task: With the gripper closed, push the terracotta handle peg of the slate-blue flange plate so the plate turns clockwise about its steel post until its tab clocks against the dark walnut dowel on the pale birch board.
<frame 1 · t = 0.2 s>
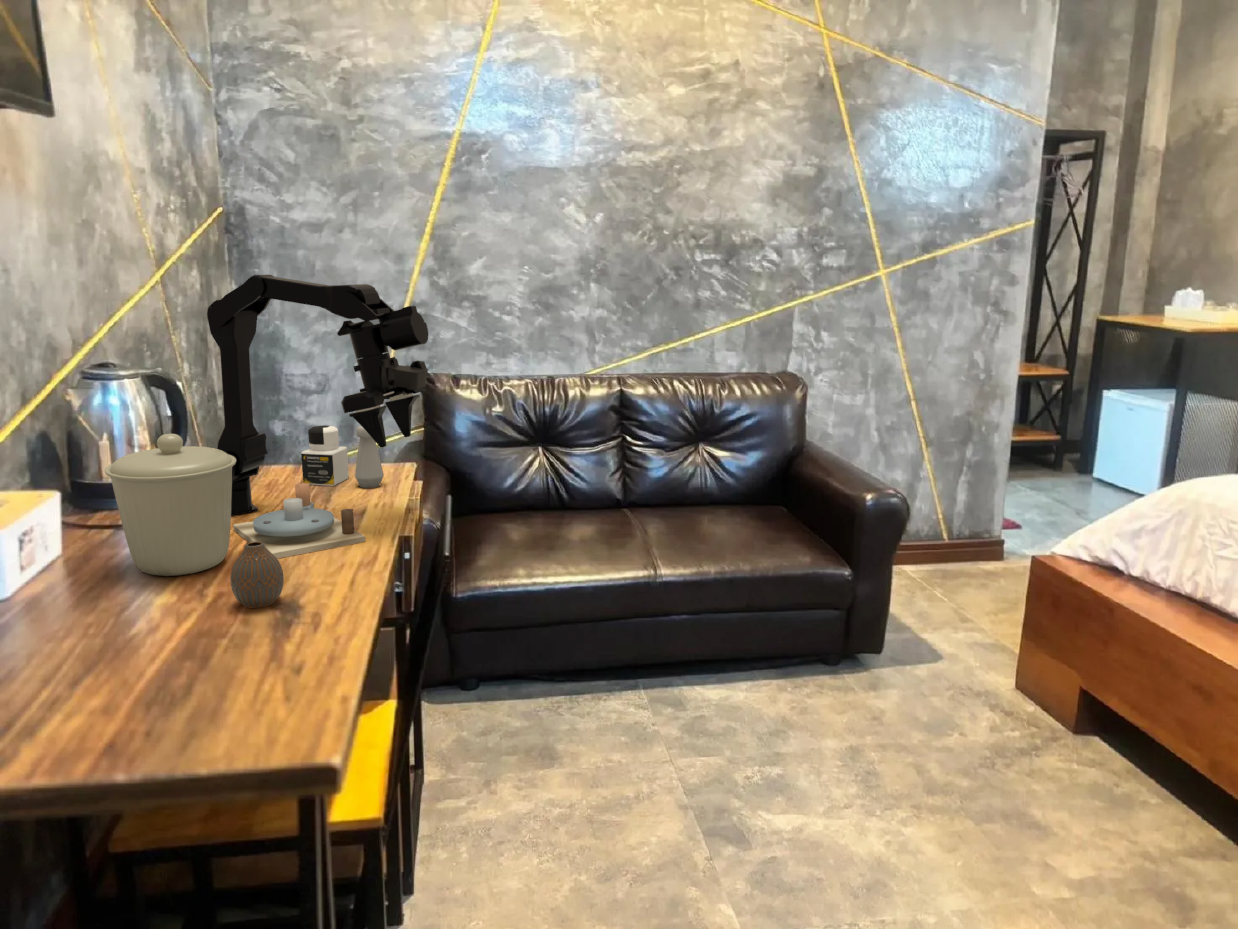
hand: (395, 441, 162), 15 cm above the table, tool pointing down, fingers open, 9 cm apart
salt shaker: (370, 486, 192), on the table
medicine bottle: (326, 482, 195), on the table
canister: (183, 566, 142), on the table
board: (298, 535, 158), on the table
flange plate: (295, 508, 156), point 5 cm above the table, hinge at 75.0°
vase: (259, 604, 128), on the table
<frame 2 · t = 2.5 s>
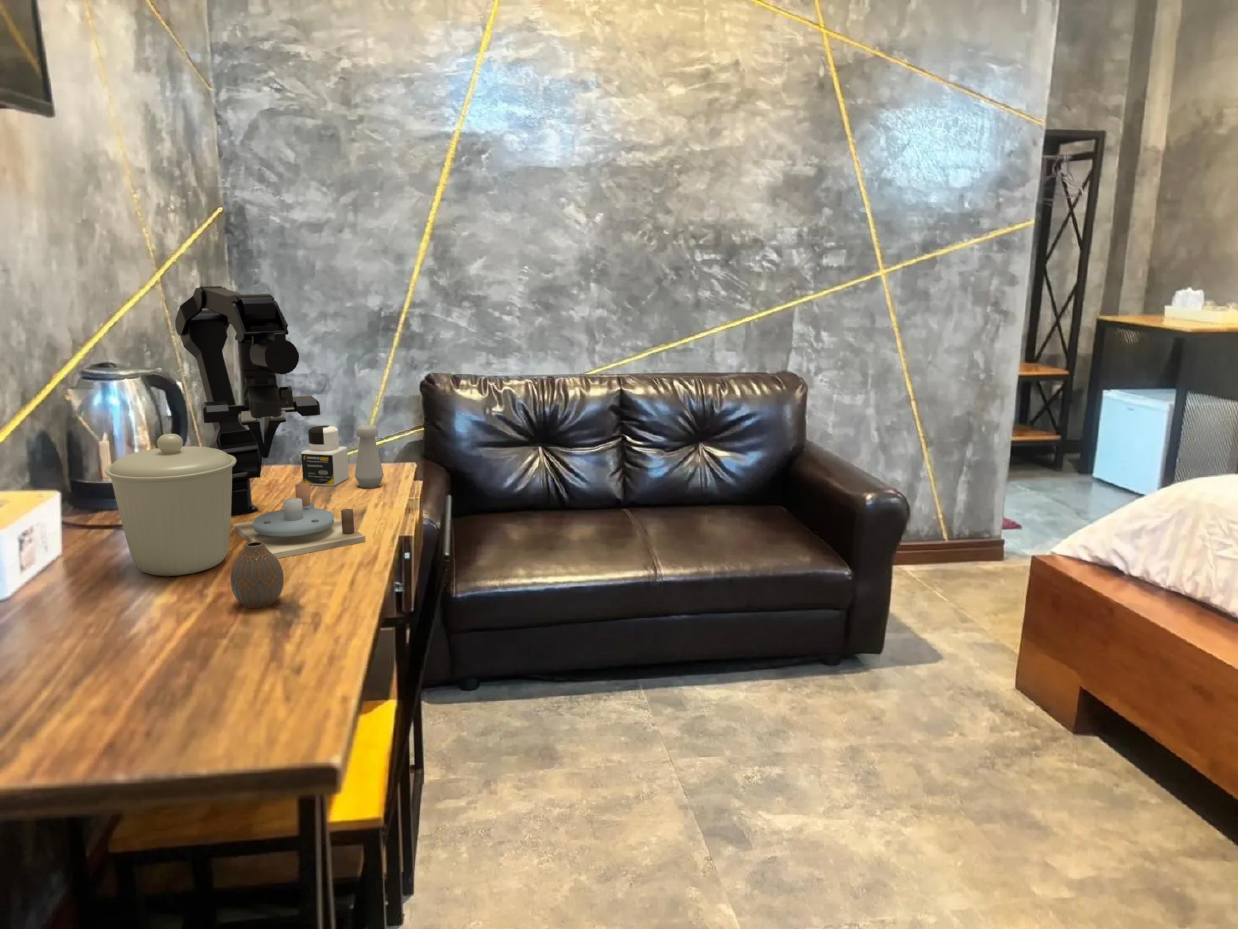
hand: (265, 457, 158), 13 cm above the table, tool pointing down, fingers closed
nothing on the table moved.
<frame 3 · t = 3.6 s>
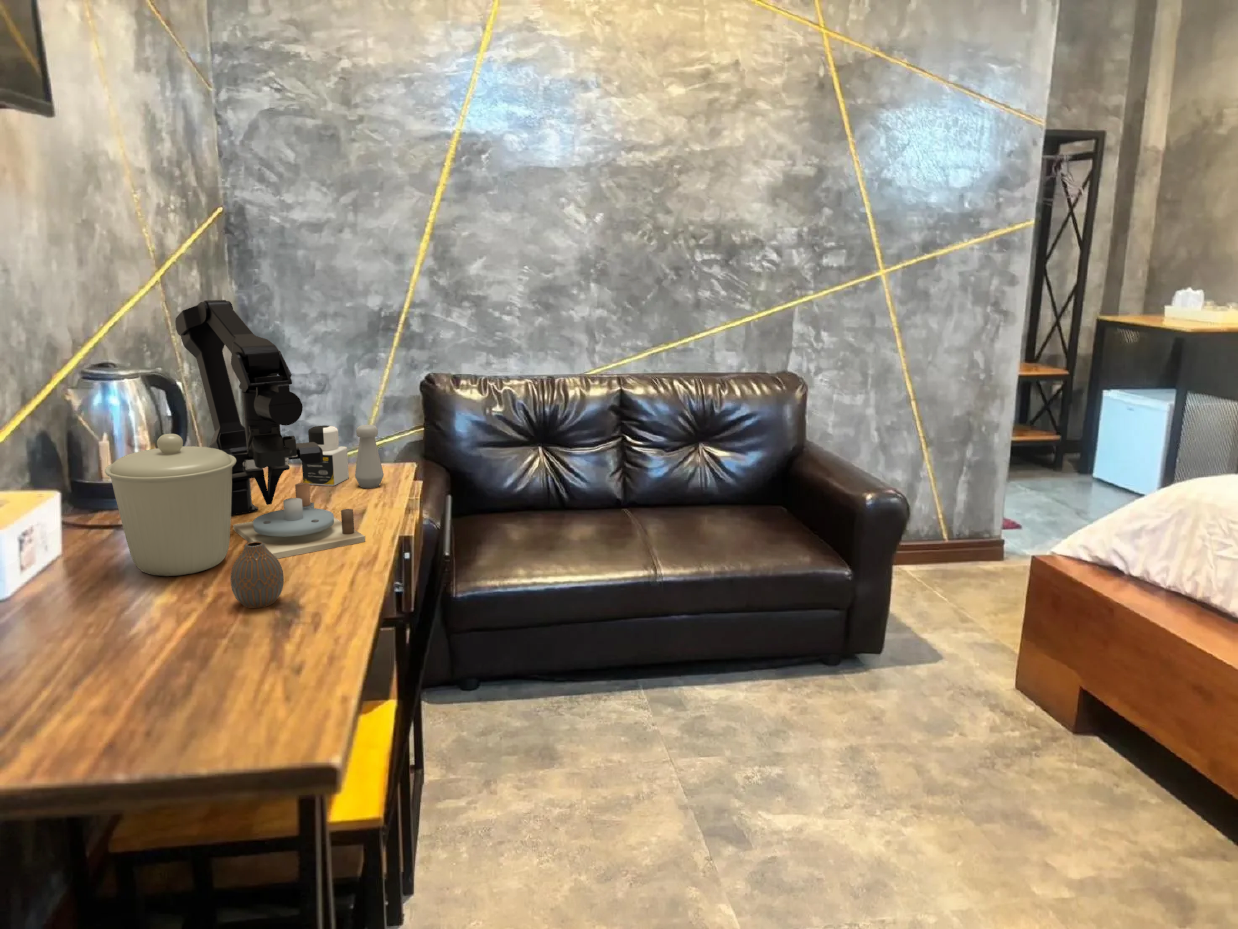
hand: (268, 504, 160), 5 cm above the table, tool pointing down, fingers closed
nothing on the table moved.
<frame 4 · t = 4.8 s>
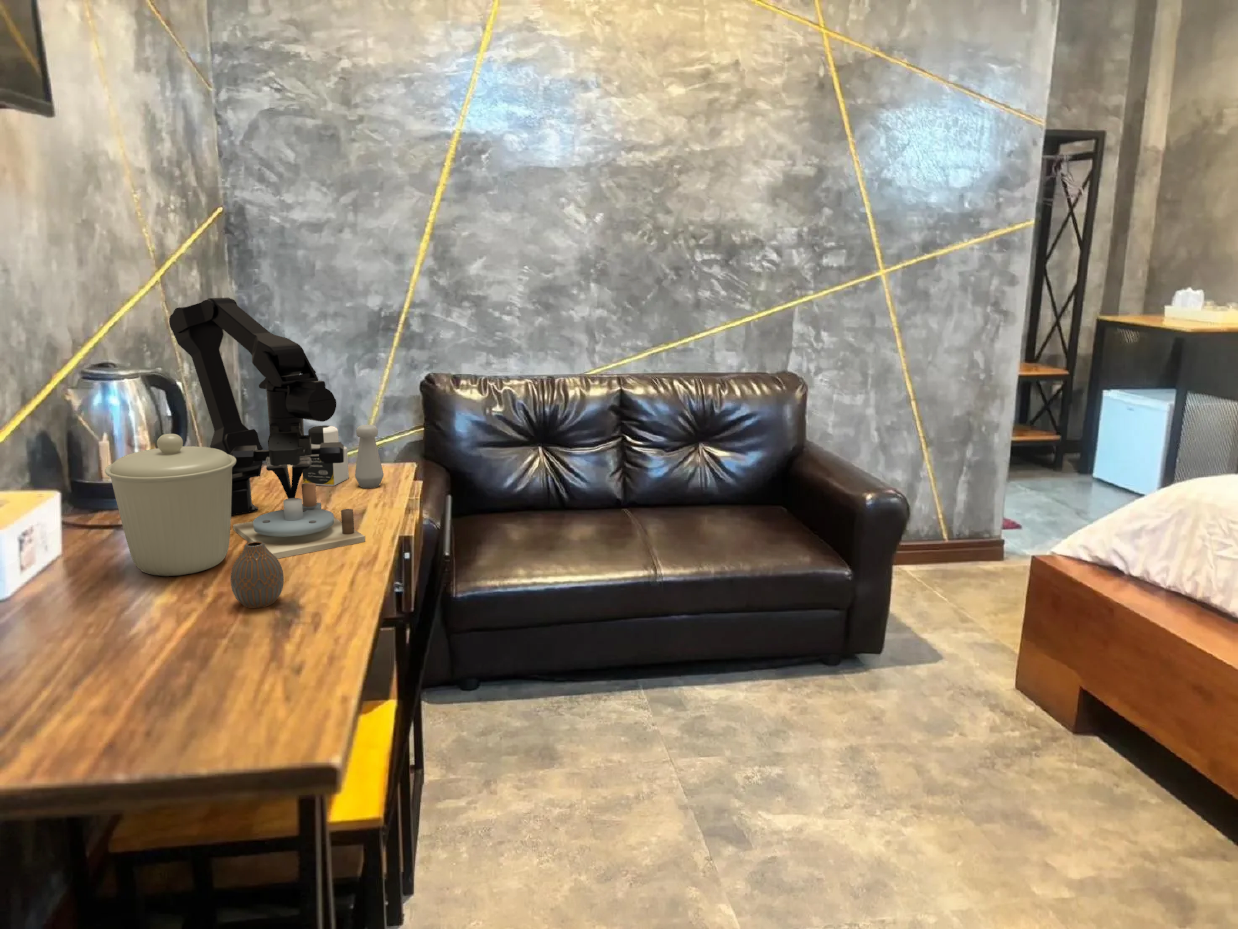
hand: (291, 501, 162), 5 cm above the table, tool pointing down, fingers closed
flange plate: (296, 508, 157), point 5 cm above the table, hinge at 67.4°, touching gripper
everything else where it was.
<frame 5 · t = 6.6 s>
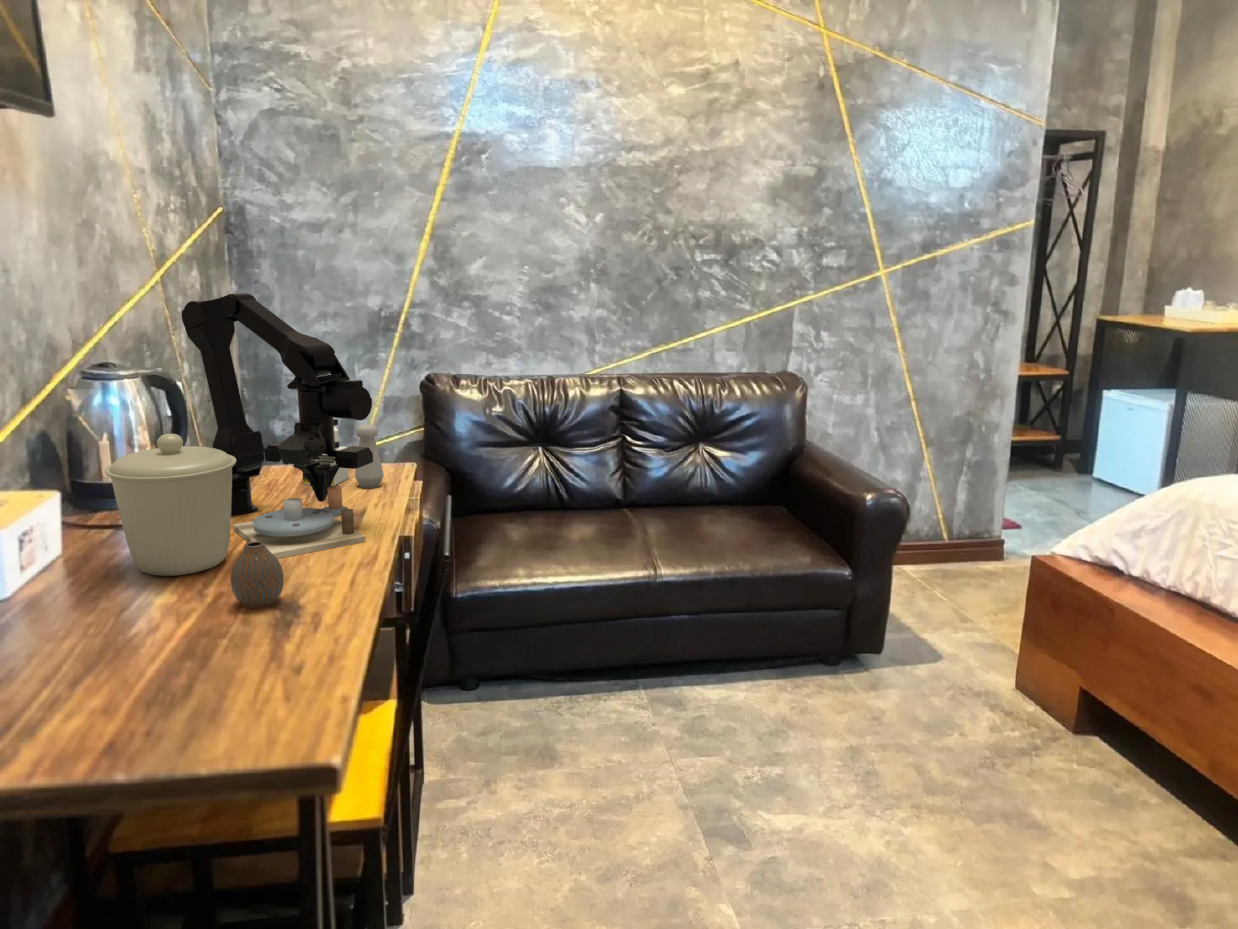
hand: (321, 501, 163), 5 cm above the table, tool pointing down, fingers closed
flange plate: (302, 508, 156), point 5 cm above the table, hinge at 30.5°, touching gripper
everything else where it was.
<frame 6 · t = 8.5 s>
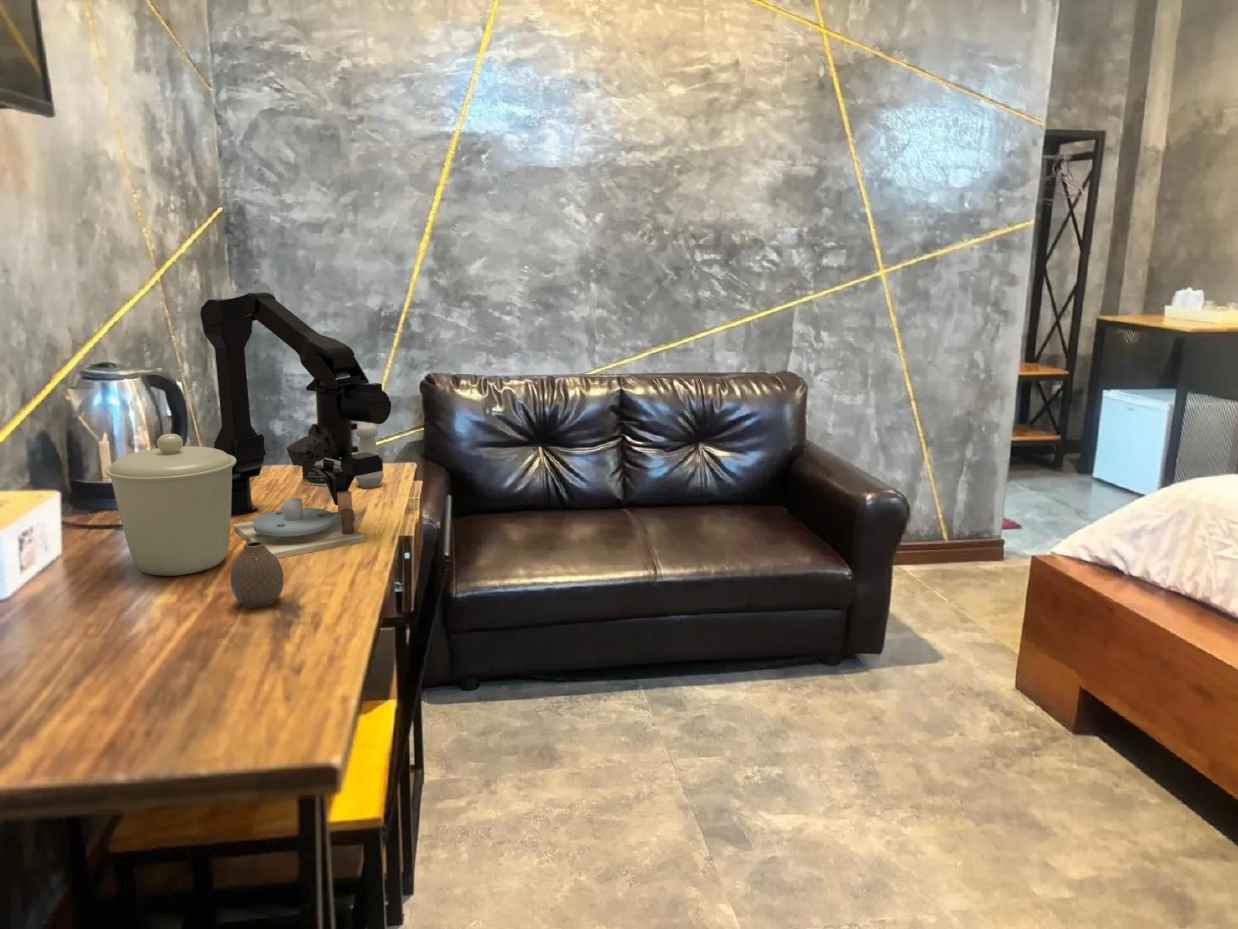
hand: (338, 504, 160), 5 cm above the table, tool pointing down, fingers closed
flange plate: (304, 510, 155), point 5 cm above the table, hinge at -0.8°, touching gripper
everything else where it was.
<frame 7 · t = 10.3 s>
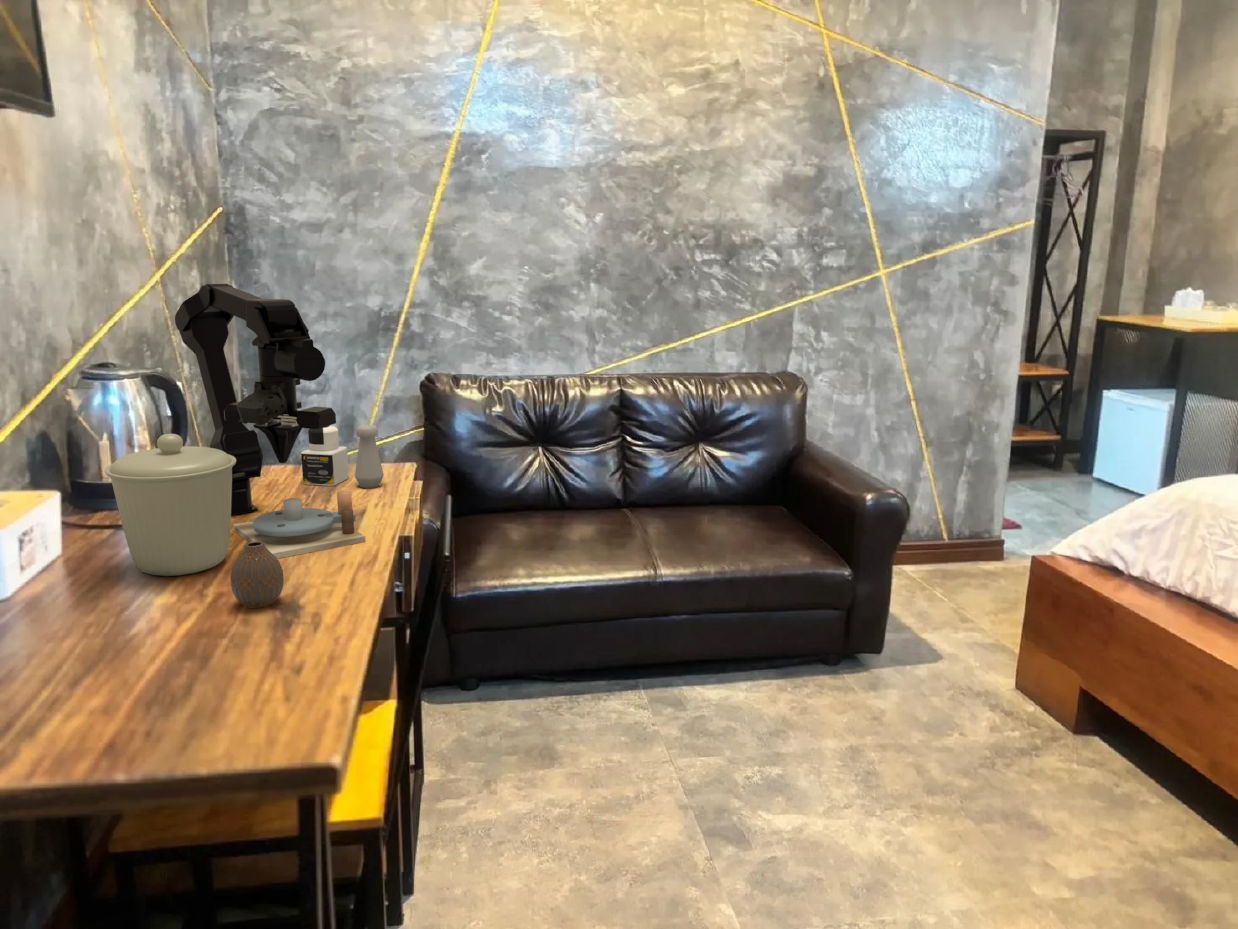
hand: (283, 462, 159), 12 cm above the table, tool pointing down, fingers closed
flange plate: (304, 510, 155), point 5 cm above the table, hinge at -0.3°
everything else where it was.
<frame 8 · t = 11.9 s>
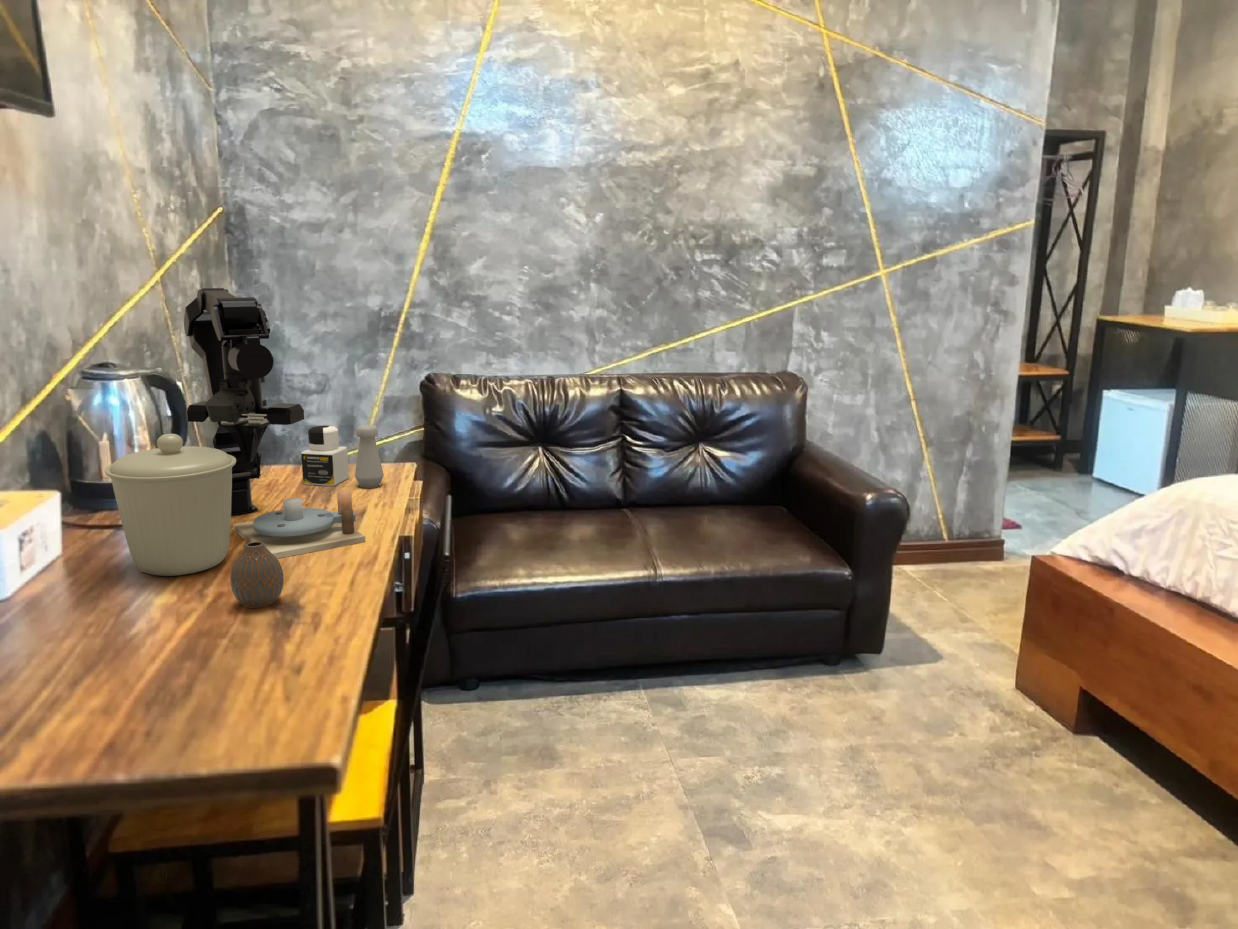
hand: (249, 461, 158), 13 cm above the table, tool pointing down, fingers closed
nothing on the table moved.
at the end: flange plate at +0° (first picture: +75°) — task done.
